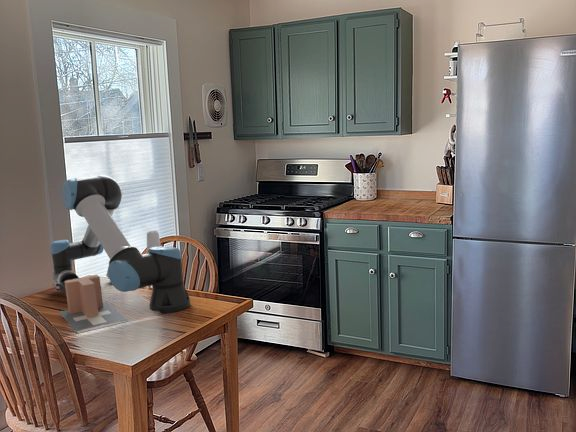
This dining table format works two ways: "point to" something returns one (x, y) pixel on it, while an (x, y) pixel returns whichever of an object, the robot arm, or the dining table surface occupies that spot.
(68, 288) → the t block
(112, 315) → the slate board
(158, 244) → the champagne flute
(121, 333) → the dining table surface
